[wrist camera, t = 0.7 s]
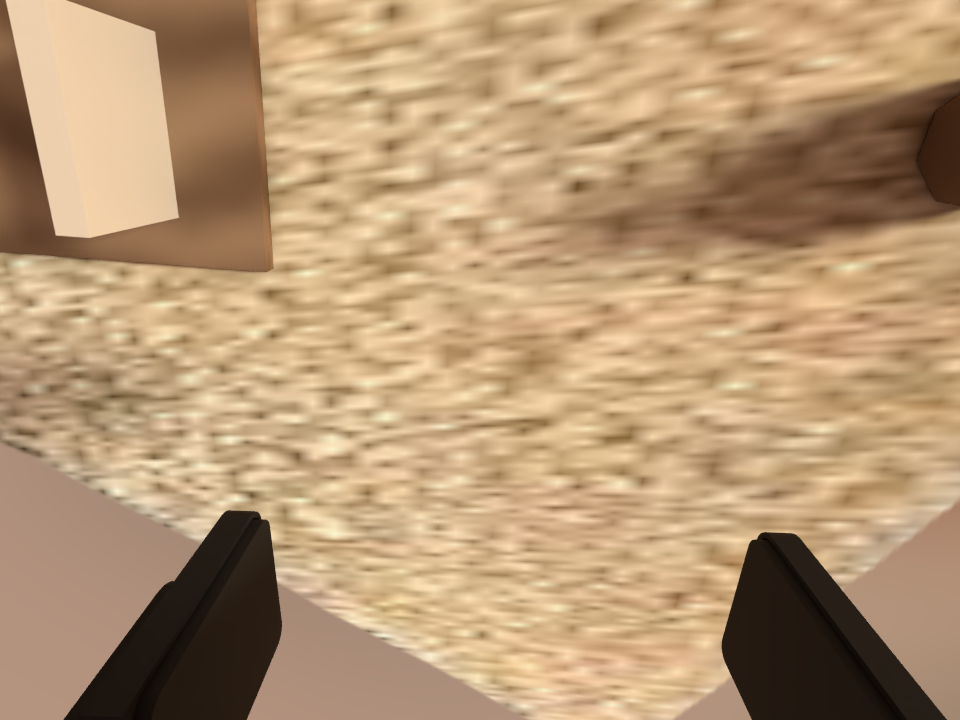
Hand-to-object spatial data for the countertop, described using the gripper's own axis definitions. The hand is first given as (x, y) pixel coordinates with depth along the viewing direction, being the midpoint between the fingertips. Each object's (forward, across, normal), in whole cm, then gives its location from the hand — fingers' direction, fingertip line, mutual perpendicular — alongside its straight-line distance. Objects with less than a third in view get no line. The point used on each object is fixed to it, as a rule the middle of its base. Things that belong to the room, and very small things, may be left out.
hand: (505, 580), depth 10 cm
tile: (+26, +20, -8) cm, 34 cm away
